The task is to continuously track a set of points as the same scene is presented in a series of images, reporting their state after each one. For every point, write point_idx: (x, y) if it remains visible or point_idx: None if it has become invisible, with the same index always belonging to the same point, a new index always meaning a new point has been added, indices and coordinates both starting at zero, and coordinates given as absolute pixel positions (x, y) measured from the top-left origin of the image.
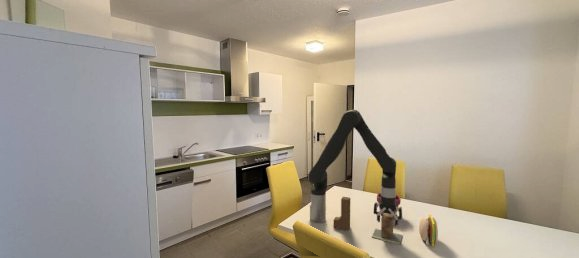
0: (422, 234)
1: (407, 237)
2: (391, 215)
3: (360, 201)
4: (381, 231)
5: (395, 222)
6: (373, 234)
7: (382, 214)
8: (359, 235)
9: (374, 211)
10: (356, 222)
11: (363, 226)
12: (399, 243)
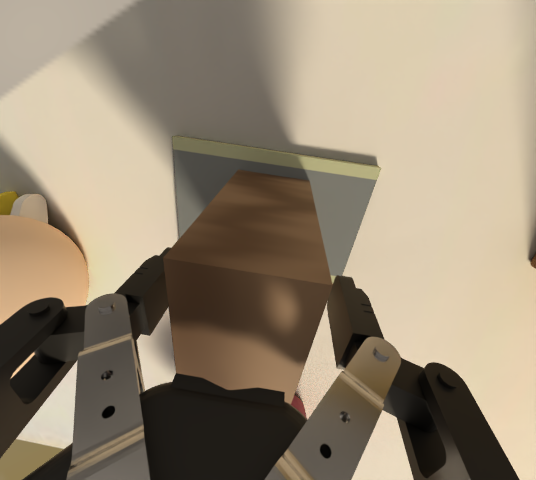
0: (11, 234)
1: (155, 245)
2: (194, 367)
3: (387, 469)
4: (310, 195)
5: (155, 271)
6: (364, 201)
7: (296, 404)
8: (483, 160)
9: (465, 409)
10: (455, 323)
11: (416, 291)
12: (176, 137)
